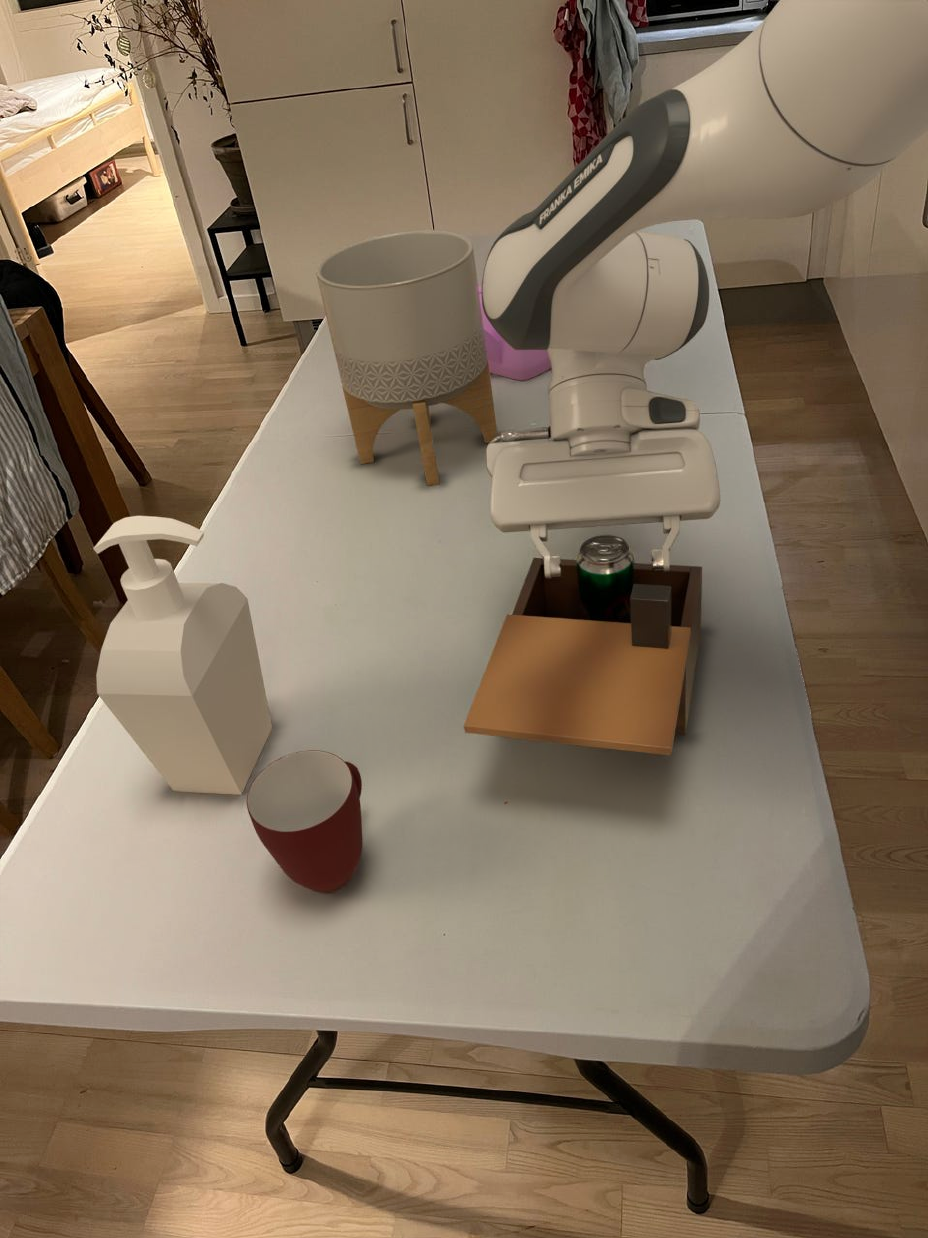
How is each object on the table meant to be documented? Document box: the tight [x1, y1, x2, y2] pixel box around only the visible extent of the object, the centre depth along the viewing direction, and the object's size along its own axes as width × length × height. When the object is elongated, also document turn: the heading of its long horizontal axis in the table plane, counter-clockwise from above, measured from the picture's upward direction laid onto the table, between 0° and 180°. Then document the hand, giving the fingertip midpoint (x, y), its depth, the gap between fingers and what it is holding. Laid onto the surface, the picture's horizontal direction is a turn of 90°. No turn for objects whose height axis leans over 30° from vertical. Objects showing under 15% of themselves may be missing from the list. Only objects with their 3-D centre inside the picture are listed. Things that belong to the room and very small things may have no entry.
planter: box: [315, 229, 499, 487], centre depth 122 cm, size 19×19×26 cm
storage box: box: [511, 557, 703, 736], centre depth 89 cm, size 16×14×8 cm
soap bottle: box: [92, 515, 273, 796], centre depth 81 cm, size 12×10×26 cm
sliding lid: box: [463, 584, 691, 756], centre depth 77 cm, size 16×14×6 cm
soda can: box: [575, 534, 635, 623], centre depth 88 cm, size 5×5×12 cm
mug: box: [246, 749, 363, 894], centre depth 75 cm, size 11×8×10 cm
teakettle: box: [478, 284, 552, 382], centre depth 145 cm, size 17×17×12 cm
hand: (606, 574), depth 86 cm, fingers open, 8 cm apart
